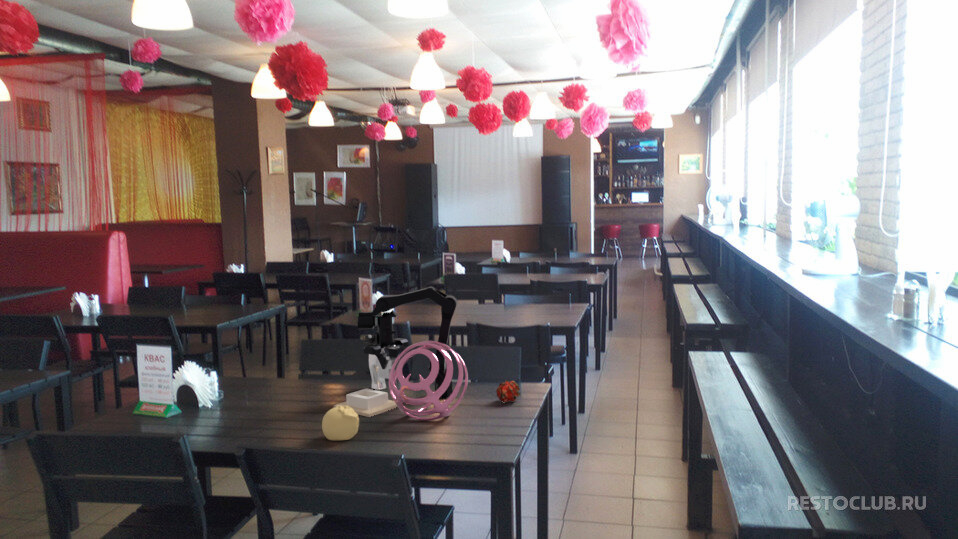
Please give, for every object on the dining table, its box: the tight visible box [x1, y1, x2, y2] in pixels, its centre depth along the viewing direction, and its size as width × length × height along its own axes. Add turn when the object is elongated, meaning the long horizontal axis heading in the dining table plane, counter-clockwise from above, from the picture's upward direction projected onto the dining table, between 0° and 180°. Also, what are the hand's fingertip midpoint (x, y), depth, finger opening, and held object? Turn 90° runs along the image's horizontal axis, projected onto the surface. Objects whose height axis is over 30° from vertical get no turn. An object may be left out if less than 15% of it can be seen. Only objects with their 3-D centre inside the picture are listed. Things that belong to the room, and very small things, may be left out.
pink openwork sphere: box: [388, 340, 469, 422], centre depth 246 cm, size 28×28×27 cm
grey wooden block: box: [375, 355, 400, 380], centre depth 271 cm, size 9×4×8 cm, turn 50°
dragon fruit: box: [496, 379, 522, 403], centre depth 260 cm, size 8×8×12 cm
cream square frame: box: [333, 387, 399, 418], centre depth 261 cm, size 20×16×5 cm
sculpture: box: [321, 405, 360, 441], centre depth 227 cm, size 11×12×11 cm
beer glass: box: [368, 350, 387, 391], centre depth 287 cm, size 7×7×15 cm
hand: (387, 368), depth 271 cm, fingers closed on grey wooden block, 4 cm apart
